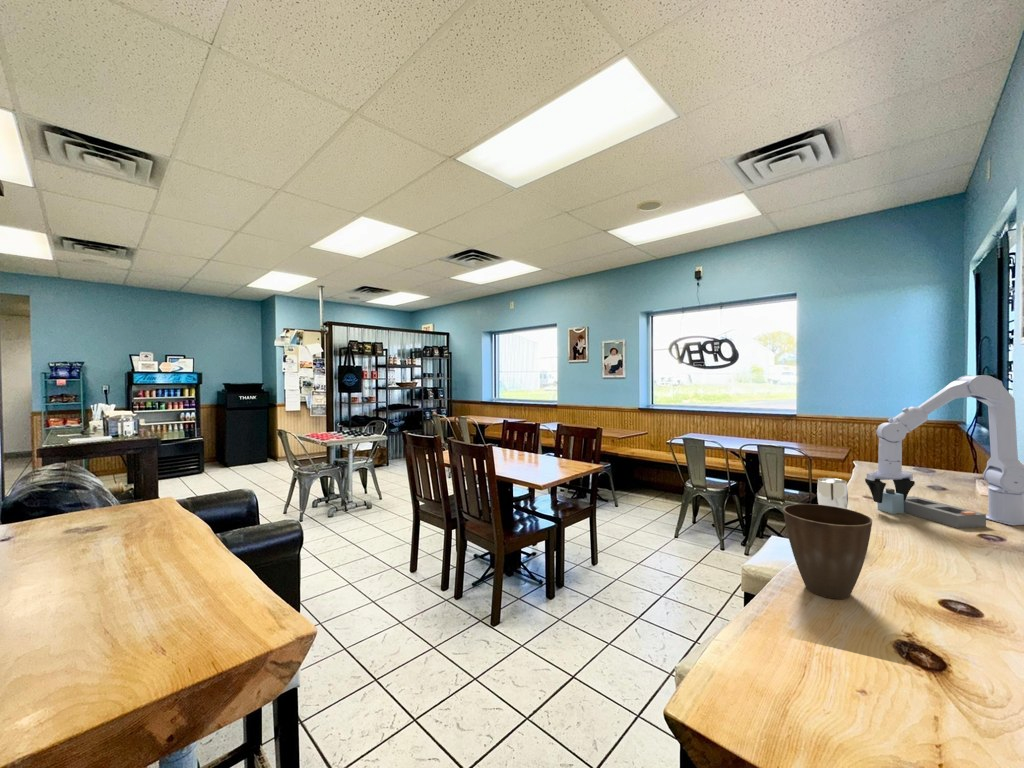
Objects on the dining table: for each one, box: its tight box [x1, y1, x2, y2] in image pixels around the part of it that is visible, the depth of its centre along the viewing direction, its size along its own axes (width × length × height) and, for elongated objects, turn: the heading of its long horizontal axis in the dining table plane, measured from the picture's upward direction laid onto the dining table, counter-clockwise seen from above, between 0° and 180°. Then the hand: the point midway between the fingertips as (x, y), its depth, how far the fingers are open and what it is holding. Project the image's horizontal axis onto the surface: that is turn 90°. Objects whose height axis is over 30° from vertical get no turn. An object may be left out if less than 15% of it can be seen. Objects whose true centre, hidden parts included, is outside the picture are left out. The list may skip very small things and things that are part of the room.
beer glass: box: [816, 477, 849, 509], centre depth 121 cm, size 7×7×15 cm
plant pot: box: [782, 503, 873, 600], centre depth 89 cm, size 15×15×16 cm
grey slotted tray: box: [904, 495, 987, 529], centre depth 133 cm, size 9×20×4 cm, turn 6°
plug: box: [877, 487, 905, 515], centre depth 139 cm, size 4×5×7 cm
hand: (889, 501), depth 139 cm, fingers open, 7 cm apart
